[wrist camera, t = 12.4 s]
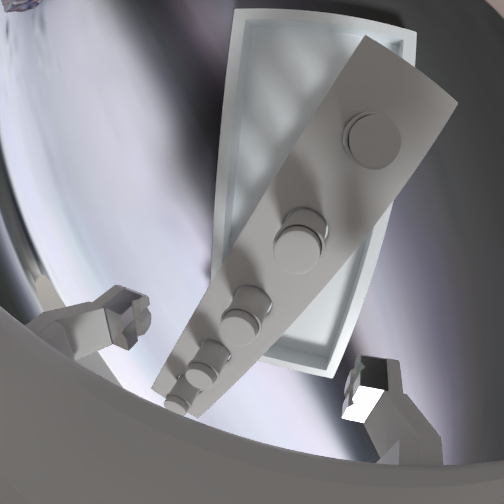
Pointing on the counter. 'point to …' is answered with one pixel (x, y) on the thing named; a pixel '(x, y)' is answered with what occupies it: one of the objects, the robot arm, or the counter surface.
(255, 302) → the test tube rack
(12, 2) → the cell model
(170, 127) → the counter surface
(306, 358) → the tray
